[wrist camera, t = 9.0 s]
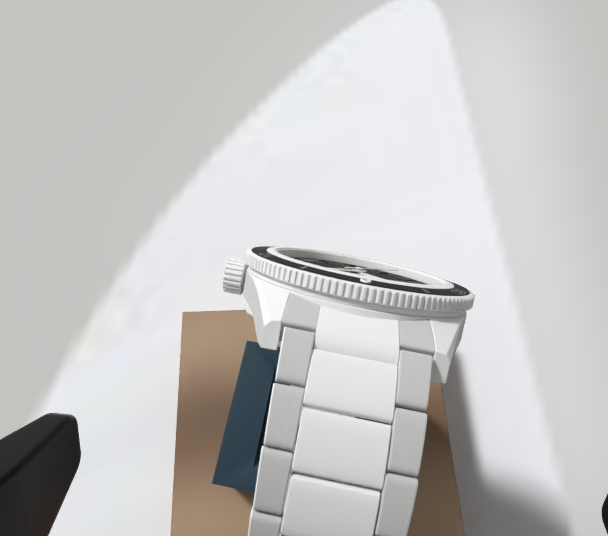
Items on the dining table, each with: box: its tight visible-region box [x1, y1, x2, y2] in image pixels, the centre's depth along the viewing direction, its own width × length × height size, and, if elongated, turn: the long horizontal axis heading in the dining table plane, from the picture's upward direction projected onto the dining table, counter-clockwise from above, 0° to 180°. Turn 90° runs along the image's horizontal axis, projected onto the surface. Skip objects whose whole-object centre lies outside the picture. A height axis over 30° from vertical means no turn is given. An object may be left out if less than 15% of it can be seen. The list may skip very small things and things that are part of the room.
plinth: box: [171, 310, 464, 536], centre depth 18 cm, size 10×10×2 cm
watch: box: [212, 247, 475, 536], centre depth 12 cm, size 6×8×11 cm
